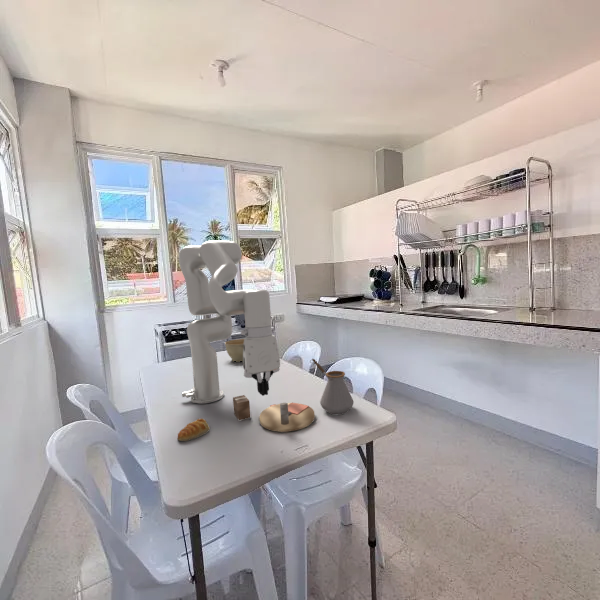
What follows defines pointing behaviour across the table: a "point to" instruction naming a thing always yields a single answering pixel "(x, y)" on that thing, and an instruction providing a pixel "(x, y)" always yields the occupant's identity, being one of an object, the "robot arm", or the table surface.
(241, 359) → the planter bowl
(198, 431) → the pastry
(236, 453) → the table surface
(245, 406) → the cardboard box
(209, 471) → the table surface
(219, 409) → the table surface
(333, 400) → the coffee pot
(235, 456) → the table surface
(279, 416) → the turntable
